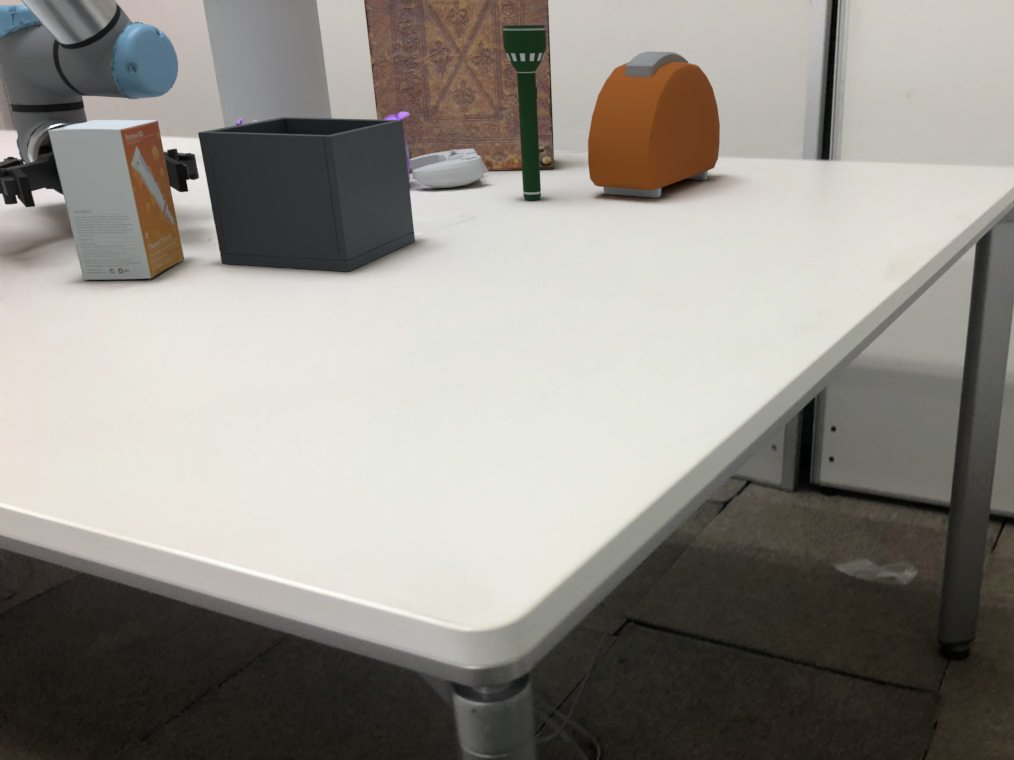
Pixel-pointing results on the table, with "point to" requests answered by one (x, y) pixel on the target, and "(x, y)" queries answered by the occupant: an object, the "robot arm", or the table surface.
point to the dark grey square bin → (309, 191)
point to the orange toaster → (653, 126)
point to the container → (268, 59)
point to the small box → (118, 198)
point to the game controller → (448, 168)
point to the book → (457, 76)
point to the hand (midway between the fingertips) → (107, 184)
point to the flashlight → (527, 96)
